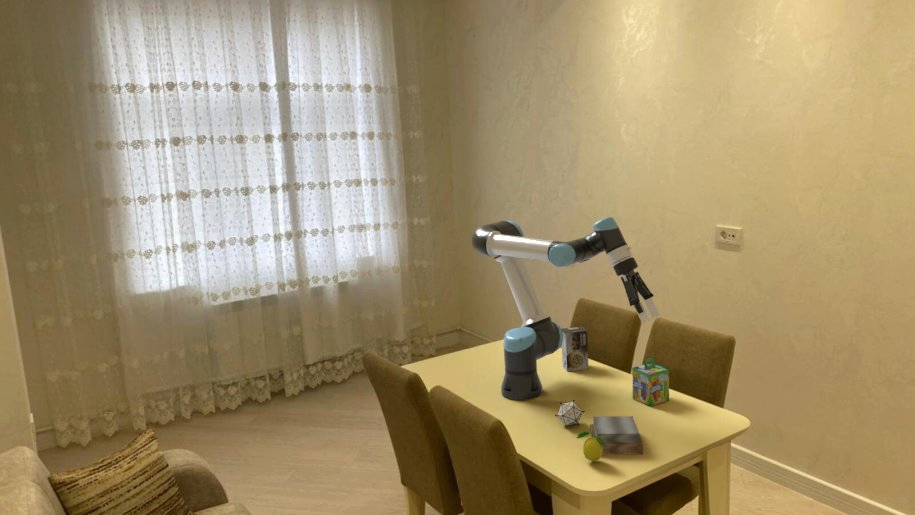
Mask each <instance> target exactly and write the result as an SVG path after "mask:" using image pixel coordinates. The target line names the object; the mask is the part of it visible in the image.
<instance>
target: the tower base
mask: <svg viewBox="0 0 915 515" xmlns="http://www.w3.org/2000/svg"><path fill="white" fill-rule="evenodd" d="M589 428H590V432H589V433H590V434H589V435H590V437H592V433H591V432H592V429H593V435H594V436H596V437H599V438H601V439H602V440H603V441H604V443H605V445H606V447H607V448H606V447H605V445H604V444H603V443H602V442H601V441H600V440H599V441H600V443H601V445H602V449H603V453H602V455H644V443H643V440H642V438H641V435H640V432H639V430H638V426H637V424H636V422H635V418H634V416H633V415H632V416H631V415H627V416H626V415H625V416H623V415H622V416H621V415H620V416H614V415H611V416H610V415H609V416H605V415H604V416H593V423H590V424H589ZM594 436H593V437H594ZM596 437H594V438H596Z"/></svg>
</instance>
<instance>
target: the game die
mask: <svg viewBox="0 0 915 515" xmlns="http://www.w3.org/2000/svg"><path fill="white" fill-rule="evenodd" d="M559 403H560V406H559V409H558V411H557V414H555V415H554V416H555V417H558V419H559V420H560V421H561V422H562V423H563V425H564V429H566V428H567V427H568V426H571V425H572V426H573V425H578V426H580V423H579V421H580V420H581V416H582V414H583V413H585V412H586V411H585V410H582V409H581V408H580V407H579V406H578V405H577V403H576V402H575V399H572V401H568V402H563V403H562V402H561V401H559Z"/></svg>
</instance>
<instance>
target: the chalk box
mask: <svg viewBox="0 0 915 515" xmlns="http://www.w3.org/2000/svg"><path fill="white" fill-rule="evenodd" d="M654 359H655V358H654V357H650V358H646V359H643V364H642V365H638V366H634V367H632V368H631V369H632V370H631V371H632V400H635V401H638V402H639V403H642V404H644V405H647V406H649V407H652V406H655V405H659V404H662V403H666V401H667V402H669V401H670V370H669V368H668V369H667V368H665V367H663V366H661V365H657V364H656V363H655V360H654ZM649 362H650V363H649Z"/></svg>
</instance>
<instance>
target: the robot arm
mask: <svg viewBox="0 0 915 515" xmlns="http://www.w3.org/2000/svg"><path fill="white" fill-rule="evenodd" d="M592 227H593V230H594V231H592V232H591V233H589V234H588V235H586V236H583V237H581V238H577V239H573V240H570V241H560V240H551V239H544V238H543V239H542V238H535V237H526V236H524V232H523V230H522V228H521V226H520V225H519V224H518V223H516V222H514V221H512V220H500V221H496V222H492V223H489V224H488V223H487V224H483V225H480V226H479V227H477V228H476V229H475V230H474V232H472V236H471V240H470V241H471V246H472V248H473V250H474V251H475V252H476V253H477V254H478V255H481V256H484V257H491V258H493V259H494V261H495V262H498V263H500V265H501V269H502V271H503V273H504V275H505V278H506V280H507V283H508V285H509V288H510V292H511V293H512V296H513V299H514V301H515V304H516V306H517V309H518V312H519V314H520V316H521V319H522V324H521V326H519V327H514V328H512V329H509V330H507V331H506V332H505V334H504V336H503V352H504V353H503V355H504V358H503V359H504V376H503V380H502V383H501V386H500V391H501V392H500V393H501V395H502V396H503V397H504V398H507V399H510V400H516V401H526V400H527V401H529V400H533V399H536V398H539V397H540V396H541V395H542V394H543V384H542V382H541V381H542V380H541V379H540V376H539V374H538V368H537V367H538V366H537V365H538V364H537V361H539V360H541V359H542V358H544V357H546V356H549V355H553V354H554V353H555V352H557V351H558V350H559V349H560V348H562V343H563V332H562V329H563V328H562V327H561V326H560V324H558V323H557V322H556V321H553V320H552V318H551V316H550V315H548V313H547V314H546V313H545V311H544V310H543V307H542V303H541V302H540V299H539V297H538V294H537V292H536V289H535V287H534V284H533V281H532V279H531V276H530V274H529V271H528V269H527V266H526V264H525V261H524V260H532V261H537V262H546V263H551V264H553V265H554V267H558V268H561V267H562V268H563V267H568V266H571V265H573V264H576V263H579V264H581V263H584V262H587V261H591V259H592V258H594V257H596V256H597V255H599V254H601V253H603V252H605V254H606V256H607V258H608V260H609V262H610V264H611V265H612V268H613V270H614V272H615V274H616V276H618V277H620V280H621V281H622V284H623V287H624V290H625V294H626V296H627V299H628V304H629V306H630V307H632V306H633V307H634V309H635V312H636V314H637V315H638V318H639V320H640V322H641V324H645V323H647V322H650V321H651V318H652V319H654V318H657V317H659V316H661V313H660V312H659V309H658V307H657V305H656V303H655V301H654V300H653V297H654V294H653V293H652V292H651V290H650V289H649V287H648V286H647V284H646V282H645V281H644V280H643V278H642V276H641V275H640V272H639V271H635V270H636V269H637V268H638V267H639V265H638V263H637V260H636V259H635V257H632V256H633V254H632V251H631V247H630V246H628V243H627V241H626V239H625V238H624V235H623V233H622V231H621V230H620V226H619V225H618V223H617V221H616V220H615V218H614V217H612V216H607V217H605V218H602V219H600V220H598V221H596V222H595V223H594V224H593V225H592ZM639 295H640V296H641V297H642V298H643V301H644V304H645V306H646V308H647V310H648V312H649V314H650V316H651V318H650V316H649V315H648V312H647V310H646V308H645V306H644V304H643V302H642V301H641V299H640V296H639Z"/></svg>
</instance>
